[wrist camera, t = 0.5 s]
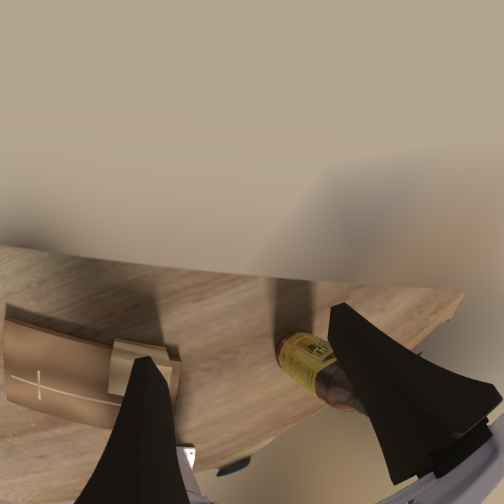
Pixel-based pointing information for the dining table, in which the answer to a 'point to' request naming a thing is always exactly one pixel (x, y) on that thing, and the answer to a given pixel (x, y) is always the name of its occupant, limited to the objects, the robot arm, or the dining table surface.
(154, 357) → the light wooden block
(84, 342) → the walnut board
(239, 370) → the dining table surface
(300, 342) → the sauce bottle
